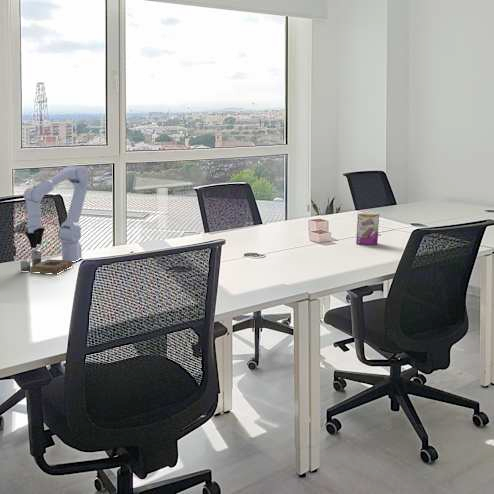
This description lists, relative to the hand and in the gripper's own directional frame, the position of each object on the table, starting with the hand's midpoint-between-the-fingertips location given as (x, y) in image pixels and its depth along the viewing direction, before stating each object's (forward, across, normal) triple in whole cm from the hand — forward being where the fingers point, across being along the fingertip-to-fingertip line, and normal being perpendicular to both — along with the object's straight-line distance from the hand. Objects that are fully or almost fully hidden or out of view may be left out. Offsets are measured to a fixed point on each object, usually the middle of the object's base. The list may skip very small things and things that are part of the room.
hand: (36, 246), depth 300 cm
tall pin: (+10, -4, -1) cm, 11 cm away
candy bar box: (+11, -56, +158) cm, 168 cm away
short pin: (+10, +5, -4) cm, 12 cm away
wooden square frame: (+10, +3, +7) cm, 13 cm away
